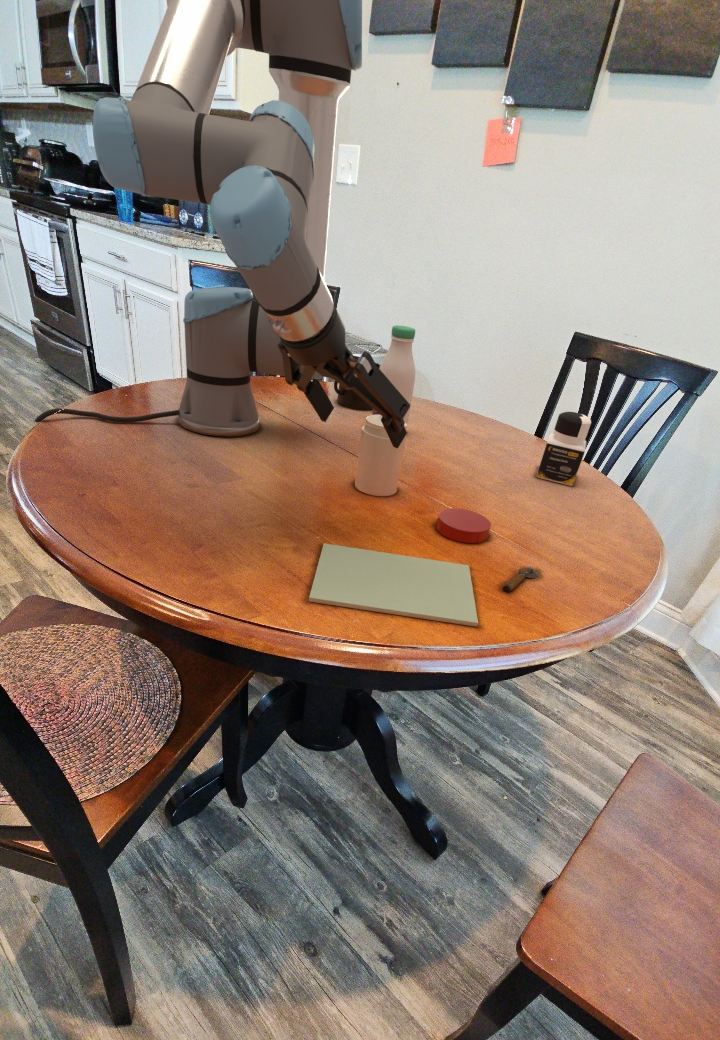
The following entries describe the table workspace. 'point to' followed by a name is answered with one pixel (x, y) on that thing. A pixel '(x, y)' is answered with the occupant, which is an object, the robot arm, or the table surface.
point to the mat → (394, 585)
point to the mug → (351, 395)
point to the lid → (463, 525)
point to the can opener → (519, 579)
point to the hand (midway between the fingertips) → (363, 427)
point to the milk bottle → (400, 364)
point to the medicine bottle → (565, 449)
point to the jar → (378, 460)
